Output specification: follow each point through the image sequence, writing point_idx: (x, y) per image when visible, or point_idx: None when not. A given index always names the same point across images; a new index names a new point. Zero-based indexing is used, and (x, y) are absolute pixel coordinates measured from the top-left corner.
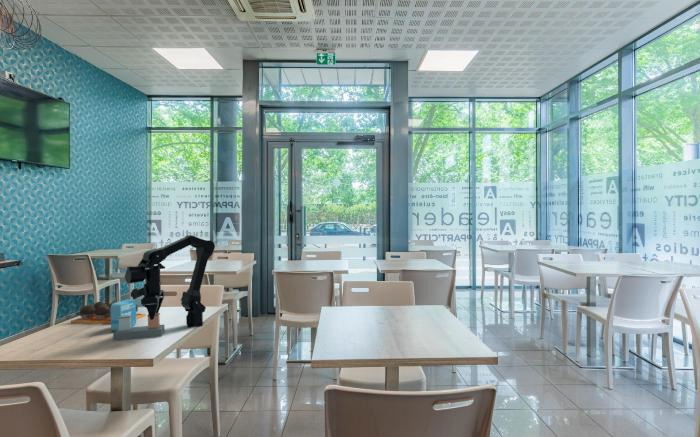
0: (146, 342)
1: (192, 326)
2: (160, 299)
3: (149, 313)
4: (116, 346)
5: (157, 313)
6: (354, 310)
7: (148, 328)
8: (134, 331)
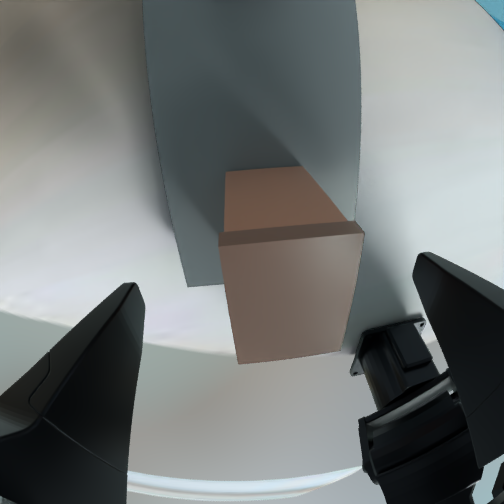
0: (60, 205)
1: (358, 348)
2: (491, 445)
3: (68, 349)
4: (9, 57)
5: (308, 342)
6: (320, 480)
7: (225, 176)
8: (148, 65)
